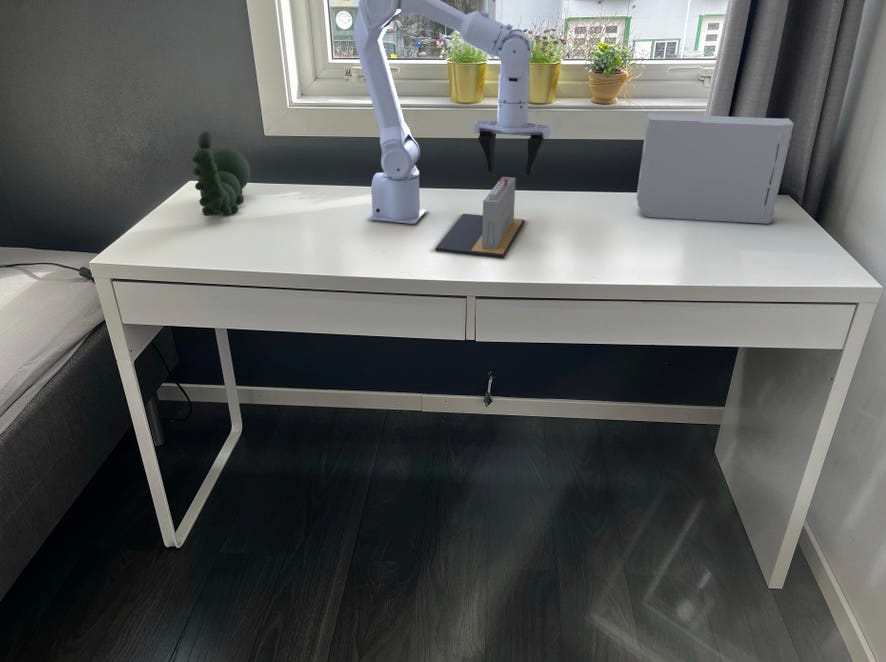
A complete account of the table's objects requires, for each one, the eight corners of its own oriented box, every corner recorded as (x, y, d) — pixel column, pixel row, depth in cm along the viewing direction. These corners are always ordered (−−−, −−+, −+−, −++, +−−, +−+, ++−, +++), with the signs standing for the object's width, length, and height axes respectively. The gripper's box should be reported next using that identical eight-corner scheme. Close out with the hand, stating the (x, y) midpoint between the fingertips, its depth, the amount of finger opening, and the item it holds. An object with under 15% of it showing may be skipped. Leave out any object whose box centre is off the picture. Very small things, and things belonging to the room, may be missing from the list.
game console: (773, 225, 154) (796, 125, 144) (636, 217, 158) (649, 119, 148) (767, 215, 159) (789, 118, 149) (635, 208, 163) (647, 113, 153)
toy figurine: (238, 233, 154) (260, 185, 174) (223, 141, 143) (247, 102, 163) (191, 233, 153) (218, 185, 174) (172, 142, 142) (203, 102, 163)
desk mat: (435, 251, 142) (435, 247, 141) (463, 216, 158) (463, 213, 158) (503, 258, 138) (503, 255, 138) (524, 222, 155) (524, 219, 155)
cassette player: (500, 220, 154) (502, 171, 149) (513, 221, 153) (515, 172, 148) (481, 248, 141) (483, 195, 136) (496, 249, 140) (498, 197, 135)
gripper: (470, 102, 142) (469, 174, 148) (547, 107, 138) (542, 180, 145) (480, 95, 147) (478, 164, 154) (554, 99, 144) (549, 170, 151)
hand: (510, 171), depth 150 cm, fingers open, 7 cm apart
